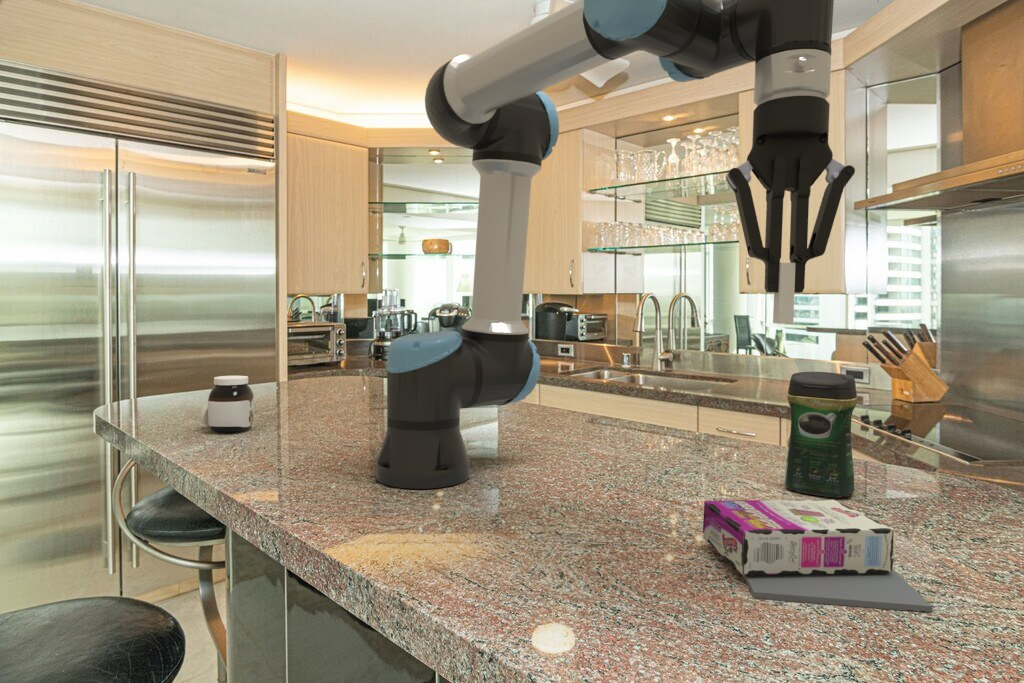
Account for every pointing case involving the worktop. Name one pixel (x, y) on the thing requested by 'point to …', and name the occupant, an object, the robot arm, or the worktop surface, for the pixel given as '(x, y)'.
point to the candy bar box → (797, 537)
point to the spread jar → (229, 406)
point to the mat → (840, 590)
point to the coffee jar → (821, 434)
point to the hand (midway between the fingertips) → (782, 323)
